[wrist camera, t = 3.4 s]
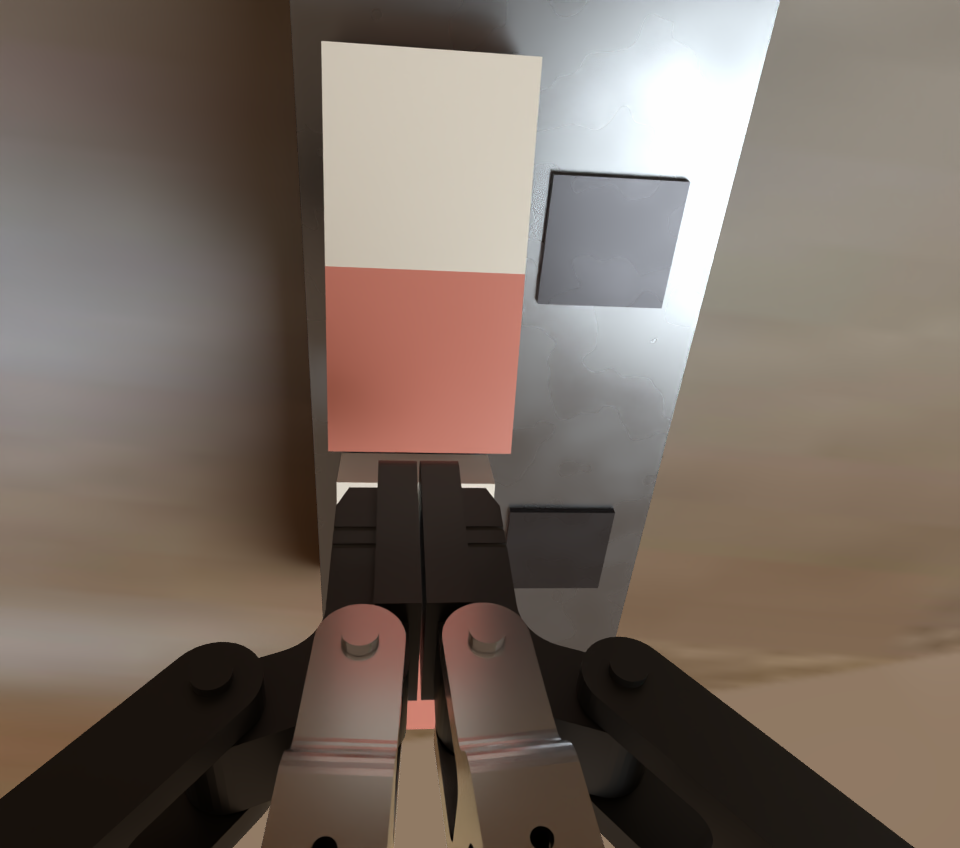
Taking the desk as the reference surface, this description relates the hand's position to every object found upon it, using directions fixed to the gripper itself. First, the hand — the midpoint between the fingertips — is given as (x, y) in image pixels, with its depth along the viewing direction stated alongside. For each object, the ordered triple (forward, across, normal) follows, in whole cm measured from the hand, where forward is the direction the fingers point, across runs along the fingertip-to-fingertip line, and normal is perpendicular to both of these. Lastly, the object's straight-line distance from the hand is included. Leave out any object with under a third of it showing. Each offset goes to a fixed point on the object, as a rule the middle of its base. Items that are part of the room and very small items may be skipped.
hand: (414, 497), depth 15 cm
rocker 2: (+5, 0, -3) cm, 6 cm away
